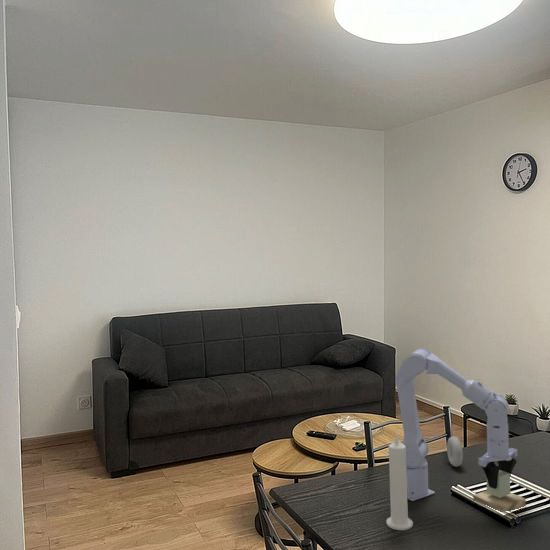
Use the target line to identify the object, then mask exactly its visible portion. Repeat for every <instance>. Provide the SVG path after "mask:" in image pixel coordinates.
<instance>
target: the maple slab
mask: <svg viewBox="0 0 550 550" xmlns="http://www.w3.org/2000/svg"><path fill="white" fill-rule="evenodd" d="M472 497H473V499H472V500H473V501H476V502H479V503H481V504H484V505H487V506H489V507H491V508H493V509H495V510H498V511H500V512H505V511H511V510H515V509H519V508H521V507H524V506H526V505H527V501H526V498H525V497H524V496H523V497H522V496H520V495H518V494H515V493H512V492H510V494H509V495H506V496H504V497H501V498H499V497H497V496H494V495H491V494H489V493H487V489H486V490H484V491H480V492H477V493H476V494H475V493H474V494H473V495H472ZM526 507H527V506H526Z"/></svg>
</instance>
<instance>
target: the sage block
mask: <svg viewBox="0 0 550 550" xmlns="http://www.w3.org/2000/svg"><path fill="white" fill-rule="evenodd" d="M485 478H486V490H487V493H489V494H491V495H494V496H497V497H499V498H501V497H504V496H506V495H509V494H510V493H511V476H510V473H507V472H504V471H502V470H499V473H498V479H497V488H496V489H494V488H491V487H489V484H488V480H487V477H486V476H485Z"/></svg>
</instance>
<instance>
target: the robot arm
mask: <svg viewBox="0 0 550 550" xmlns="http://www.w3.org/2000/svg"><path fill="white" fill-rule="evenodd" d="M425 371H426V373H425V375H439V376H441V378H443V379H444V380H446V381H447V382H449V383H451V384H452V385H453V386H455V387H457V388H459V389H460V390H461V393H462V396H463V397H465V399H467V400H469V401H470V402H471V403H473V404H474V405H475V406H477V407H479V408H480V409H481V410H484V412H485V415H486V416H487V417H486V418H487V421H486V441H487V442H486V444H487V445H486V446H487V447H486V449H487V451H486V453H484V454H483V455H482V456H481V457H478V458H477V459H478V461H477V463H478V466H480V467H481V469H482V470H483V472H484V474H485V478H486V477H487V480H488V484H489V487H491V488H494V489H496V488H497V479H498V473H499V470H502V471H504V472H507V473H510V477H511V475H512V473H513V470H514V468H515V466H516V464H517V460H516V459H515V458H513V457H518V449H517V448H513V447H509V422H508V421H509V420H508V419H509V418H508V410H509V403H508V401H507V399H506V397H504V396H503V395H502V394H498V392H495V391H491V390H490V389H488V388H487V387H485V386H484V385H483V382H482V381H481V380H478V381H477V380H476V379H467V378H466V377H464V376H463V375H462V374H460V373H459V372H458V371H457V370H455V369H454V368H453V367H451V366H450V365H449V364H447V363H446V362H445V361H444V360H442V359H441V358H440V357H438V356H437V355H436V354H434V353H433V352H432V353H430V351H429V350H428V349H425V348H420V347H419V348H417V349H414V351H413V352H411V353H410V354H409V355H407V357H405V358H404V359H403V360H402V362H401V365H400V367H399V369H398V371H397V373H396V375H395V382H396V383H395V384H396V390H397V395H398V404H399V409H400V417H401V422H402V429H403V439H402V444H404V445H405V446H406V474H407V500H409V501H412V502H414V501H417V500H420V499H423V498H425V497H429V496H431V495H432V496H433V495H434V494H435V491H434V490H433V489H432V490H431V489H429V469H428V468H429V465H428V461H427V458H426V456H427V455H428V453H429V446H428V443H427V442H426V441H425V438H424V437H425V436H424V434H423V433H422V431H421V426H420V425H421V424H420V416H419V412H418V404H417V398H416V392H415V386H414V380H415V379H416V378H417V377H418V376H419V375H421V374H422V373H424V372H425ZM495 463H496V464H498V465H496V464H495ZM487 480H486V481H487Z"/></svg>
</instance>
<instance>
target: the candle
mask: <svg viewBox="0 0 550 550" xmlns="http://www.w3.org/2000/svg"><path fill="white" fill-rule="evenodd" d="M394 437H395V438H394V441H392V442H391V443H389V445H388V461H389V463H388V464H389V465H388V467H389V495H390V498H389V499H390V517H387V518H386V525H387V526H388V528H390V529H393V530H397V531H407V530H411V529H412V528H413V526H414V521H413V520H412V519H411V518H409V512H408V499H407V474H406V446H405V445H404V444H403V442H401V441H400V438H399V434H398V433H396V434H395V435H394Z"/></svg>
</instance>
